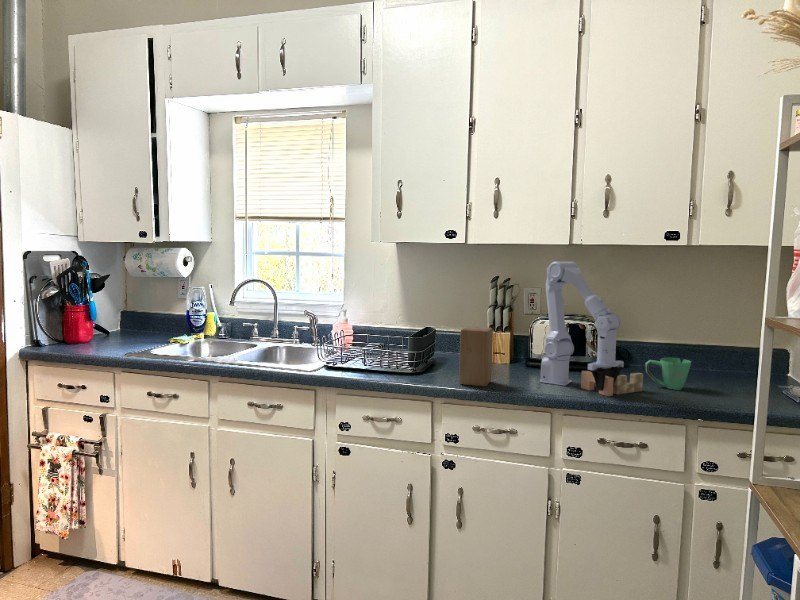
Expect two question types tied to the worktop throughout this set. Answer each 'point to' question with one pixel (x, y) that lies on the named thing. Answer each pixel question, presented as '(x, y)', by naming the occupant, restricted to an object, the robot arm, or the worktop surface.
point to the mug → (671, 372)
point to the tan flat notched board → (589, 381)
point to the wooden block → (475, 356)
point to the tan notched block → (632, 386)
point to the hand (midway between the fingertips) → (605, 389)
